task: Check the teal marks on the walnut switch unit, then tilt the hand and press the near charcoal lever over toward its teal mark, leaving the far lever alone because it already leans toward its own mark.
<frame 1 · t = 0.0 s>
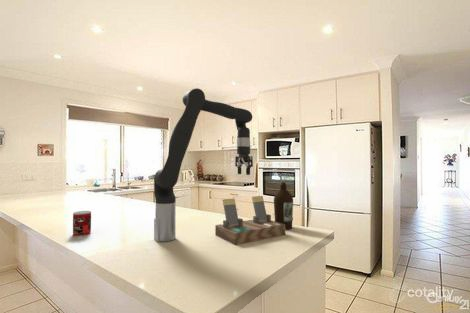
hand: (243, 174, 149), 29 cm above the counter, tool pointing down, fingers open, 8 cm apart
switch unit: (250, 234, 131), on the counter
near lever: (230, 212, 130), point 11 cm above the counter, hinge at -20.0°
olive oil: (283, 227, 145), on the counter
far lever: (259, 208, 139), point 11 cm above the counter, hinge at -20.0°
canned food: (82, 234, 133), on the counter
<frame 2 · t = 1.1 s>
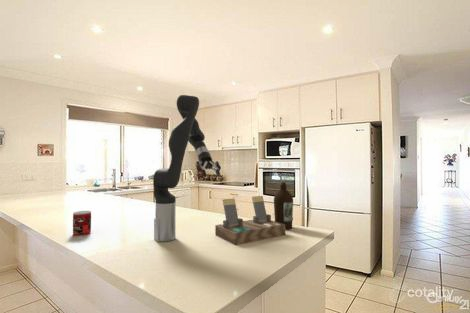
hand: (212, 175, 147), 29 cm above the counter, tool tilted 45°, fingers open, 8 cm apart
nothing on the counter moved.
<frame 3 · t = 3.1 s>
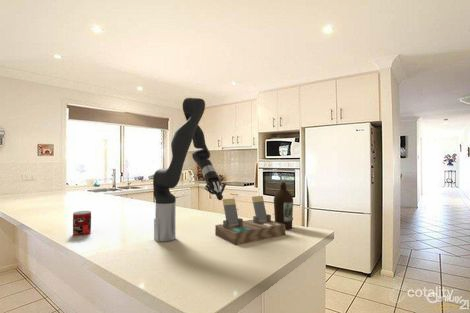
hand: (220, 199, 138), 17 cm above the counter, tool tilted 45°, fingers closed
nothing on the counter moved.
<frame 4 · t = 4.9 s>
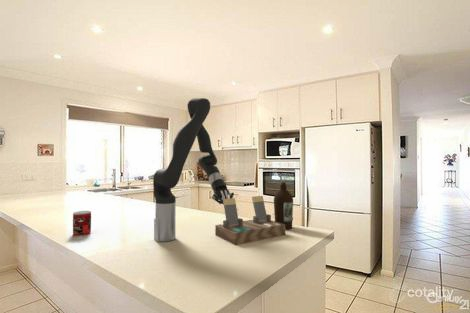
hand: (229, 209, 131), 13 cm above the counter, tool tilted 45°, fingers closed
near lever: (231, 212, 129), point 12 cm above the counter, hinge at -18.0°, touching gripper
everything else where it was.
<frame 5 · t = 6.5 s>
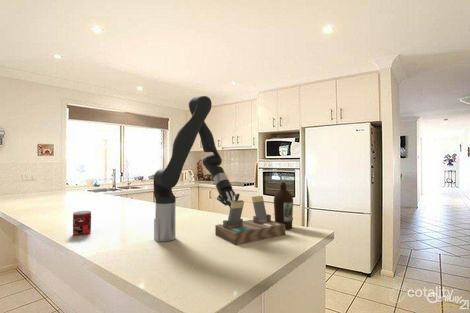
hand: (235, 211, 127), 13 cm above the counter, tool tilted 45°, fingers closed
near lever: (235, 213, 126), point 11 cm above the counter, hinge at 20.7°, touching gripper
everything else where it was.
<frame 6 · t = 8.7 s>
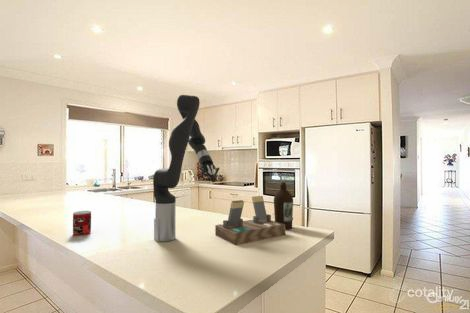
hand: (214, 181, 145), 26 cm above the counter, tool tilted 45°, fingers closed
near lever: (235, 213, 126), point 11 cm above the counter, hinge at 20.8°
everything else where it was.
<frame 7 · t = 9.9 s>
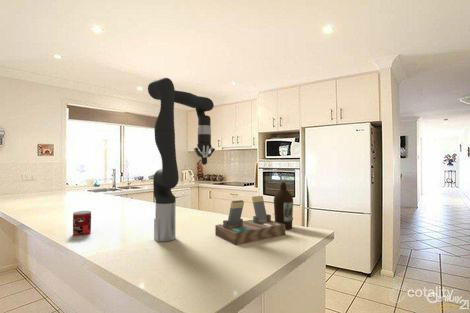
hand: (204, 164, 149), 35 cm above the counter, tool pointing down, fingers closed
nothing on the counter moved.
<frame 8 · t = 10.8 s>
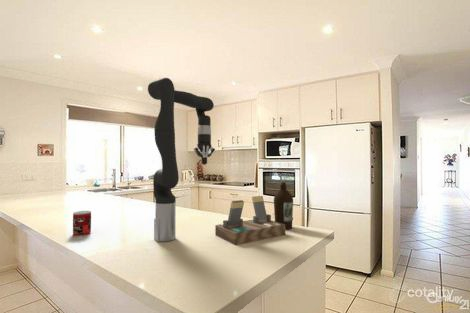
hand: (204, 164, 149), 35 cm above the counter, tool pointing down, fingers closed
nothing on the counter moved.
at the end: near lever at +21° (first picture: -20°); far lever at -20° (first picture: -20°) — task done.
